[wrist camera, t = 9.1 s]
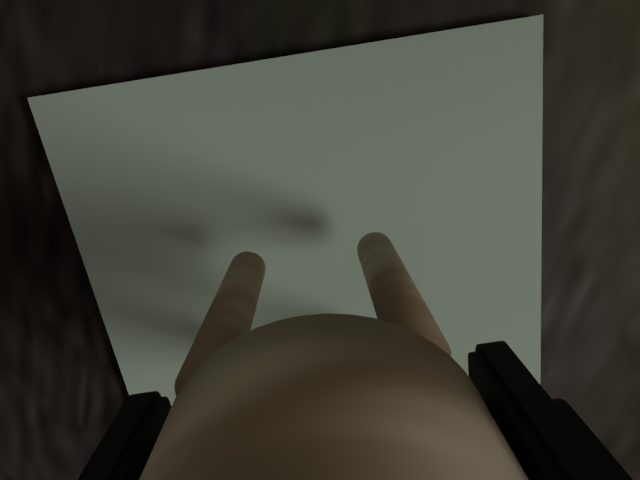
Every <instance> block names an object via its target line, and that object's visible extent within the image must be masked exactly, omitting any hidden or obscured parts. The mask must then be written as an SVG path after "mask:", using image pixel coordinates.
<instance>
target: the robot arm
mask: <svg viewBox="0 0 640 480" xmlns="http://www.w3.org/2000/svg"><path fill="white" fill-rule="evenodd" d="M468 373H469V378H470V379H471V381H472V382H473V384H474V385H475V387H476V388H477V390H478V392H479V393H480V395H481V397H482V399H483V400H484V402H485V404H486V406H487V407H488V409H489V411H490V413H491V414H492V416H493V418H494V420H495V421H496V423H497V425H498V427H499V428H500V430H501V432H502V434H503V435H504V437H505V439H506V441H507V442H508V444H509V446H510V448H511V449H512V451H513V453H514V455H515V456H516V458H517V460H518V462H519V463H520V465H521V467H522V469H523V470H524V472H525V474H526V476H527V477H528V479H529V480H633V479H632V478H631V477H630V476H629V475H628V474H627V472H626V471H625V470H624V469H623V468H622V466H621V465H620V464H619V463H618V462H617V461H616V459H615V458H614V457H613V456H612V455H611V453H610V452H609V451H608V450H607V449H606V448H605V446H604V445H603V444H602V443H601V442H600V440H599V439H598V438H597V437H596V436H595V435H594V433H593V432H592V431H591V430H590V429H589V427H588V426H587V425H586V424H585V423H584V422H583V420H582V419H581V418H580V417H579V416H578V414H577V413H576V412H575V411H574V410H573V409H572V407H571V406H570V405H569V404H568V403H567V402H566V401H565V400H562V399H560V398H558V399H551V398H550V396H549V395H548V394H547V393H546V391H545V390H544V389H543V388H542V386H541V385H540V384H539V383H538V381H537V380H536V379H535V378H534V377H533V375H532V374H531V373H530V372H529V370H528V369H527V368H526V367H525V365H524V364H523V363H522V362H521V360H520V359H519V358H518V357H517V355H516V354H515V353H514V352H513V350H512V349H511V348H510V347H509V345H508V344H507V343H506V342H505V341H496V342H489V343H482V344H477V345H476V348H475V352H469V353H468ZM170 409H171V404H170V401H169V399H168V397H166V396H164V397H161V394H160V393H159V392H158V391H151V392H144V393H138V394H131V395H129V396H128V397H127V399H126V400H125V402H124V404H123V405H122V407H121V409H120V410H119V412H118V414H117V415H116V417H115V418H114V420H113V422H112V423H111V425H110V427H109V428H108V430H107V432H106V433H105V435H104V437H103V438H102V440H101V442H100V443H99V445H98V447H97V448H96V450H95V452H94V453H93V455H92V457H91V458H90V460H89V462H88V463H87V465H86V467H85V468H84V470H83V472H82V473H81V475H80V477H79V478H78V480H139V479H140V477H141V475H142V472H143V470H144V468H145V466H146V463H147V461H148V459H149V457H150V454H151V452H152V450H153V448H154V445H155V443H156V441H157V439H158V436H159V434H160V432H161V430H162V427H163V425H164V423H165V421H166V418H167V416H168V414H169V412H170Z"/></svg>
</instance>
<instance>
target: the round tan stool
mask: <svg viewBox="0 0 640 480" xmlns="http://www.w3.org/2000/svg"><path fill="white" fill-rule="evenodd" d="M357 254H358V257H359V260H360V264H361V267H362V270H363V273H364V277H365V280H366V283H367V286H368V290H369V293H370V296H371V300H372V303H373V306H374V309H375V313H376V316H377V319H376V318H372V317H365V316H358V315H352V314H328V313H325V314H313V315H302V316H297V317H292V318H287V319H282V320H278V321H275V322H272V323H269V324H266V325H263V326H260V327H257V328H255V329H252V330H251V326H252V322H253V318H254V314H255V310H256V307H257V303H258V299H259V295H260V291H261V287H262V283H263V279H264V275H265V270H266V267H265V263H264V261H263V259H262V258H261V257H260V256H259V255H258V254H256V253H253V252H241V253H239V254H237V255H236V256H235V257H234V258H233V259H232V261H231V264H230V266H229V268H228V270H227V272H226V274H225V276H224V278H223V280H222V283H221V285H220V287H219V289H218V291H217V293H216V295H215V297H214V299H213V302H212V304H211V306H210V308H209V310H208V312H207V314H206V316H205V318H204V321H203V323H202V325H201V327H200V329H199V331H198V333H197V335H196V338H195V340H194V342H193V344H192V346H191V348H190V350H189V352H188V354H187V357H186V359H185V361H184V363H183V365H182V367H181V369H180V371H179V373H178V376H177V378H176V380H175V385H174V389H175V394H176V398H175V400H174V403H173V405H172V407H171V409H170V412H169V414H168V416H167V418H166V421H165V423H164V425H163V427H162V430H161V432H160V434H159V436H158V439H157V441H156V443H155V445H154V448H153V450H152V452H151V454H150V457H149V459H148V461H147V463H146V466H145V468H144V470H143V472H142V475H141V477H140V479H139V480H529V479H528V477H527V476H526V474H525V472H524V470H523V469H522V467H521V465H520V463H519V462H518V460H517V458H516V456H515V455H514V453H513V451H512V449H511V448H510V446H509V444H508V442H507V441H506V439H505V437H504V435H503V434H502V432H501V430H500V428H499V427H498V425H497V423H496V421H495V420H494V418H493V416H492V414H491V413H490V411H489V409H488V407H487V406H486V404H485V402H484V400H483V399H482V397H481V395H480V393H479V392H478V390H477V388H476V387H475V385H474V384H473V382H472V381H471V379H470V378H469V376H468V375H467V374H466V372H465V371H464V370H463V369H462V368H461V366H460V365H459V364H458V363H457V362H456V361H455V360H454V359H453V358H452V357H451V349H450V346H449V344H448V342H447V341H446V339H445V337H444V335H443V334H442V332H441V330H440V328H439V326H438V325H437V323H436V321H435V319H434V318H433V316H432V314H431V312H430V310H429V309H428V307H427V305H426V303H425V302H424V300H423V298H422V296H421V294H420V293H419V291H418V289H417V287H416V285H415V284H414V282H413V280H412V278H411V277H410V275H409V273H408V271H407V269H406V268H405V266H404V264H403V262H402V261H401V259H400V257H399V255H398V253H397V252H396V250H395V248H394V246H393V245H392V243H391V241H390V239H389V238H388V237H387V236H386V235H384V234H382V233H379V232H372V233H369V234H366V235H365V236H363V237H362V238H361V239H360V241H359V243H358V246H357Z"/></svg>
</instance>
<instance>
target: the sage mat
mask: <svg viewBox="0 0 640 480" xmlns="http://www.w3.org/2000/svg"><path fill="white" fill-rule="evenodd" d="M27 99H28V102H29V105H30V108H31V111H32V114H33V117H34V120H35V123H36V126H37V128H38V131H39V134H40V137H41V140H42V143H43V146H44V149H45V152H46V155H47V158H48V161H49V163H50V166H51V169H52V172H53V175H54V178H55V181H56V184H57V187H58V190H59V193H60V196H61V198H62V201H63V204H64V207H65V210H66V213H67V216H68V219H69V222H70V225H71V228H72V231H73V233H74V236H75V239H76V242H77V245H78V248H79V251H80V254H81V257H82V260H83V263H84V266H85V268H86V271H87V274H88V277H89V280H90V283H91V286H92V289H93V292H94V295H95V298H96V301H97V303H98V306H99V309H100V312H101V315H102V318H103V321H104V324H105V327H106V330H107V333H108V336H109V338H110V341H111V344H112V347H113V350H114V353H115V356H116V359H117V362H118V365H119V368H120V371H121V373H122V376H123V379H124V382H125V385H126V388H127V391H128V394H129V395H131V394H138V393H144V392H151V391H158V392H159V393H160V394H161V397H164V396H166V397H168V399H169V401H170V404H171V407H172V405H173V403H174V400H175V398H176V394H175V389H174V385H175V380H176V378H177V376H178V373H179V371H180V369H181V367H182V365H183V363H184V361H185V359H186V357H187V354H188V352H189V350H190V348H191V346H192V344H193V342H194V340H195V338H196V335H197V333H198V331H199V329H200V327H201V325H202V323H203V321H204V318H205V316H206V314H207V312H208V310H209V308H210V306H211V304H212V302H213V299H214V297H215V295H216V293H217V291H218V289H219V287H220V285H221V283H222V280H223V278H224V276H225V274H226V272H227V270H228V268H229V266H230V264H231V261H232V259H233V258H234V257H235V256H236V255H237V254H239V253H241V252H253V253H256V254H258V255H259V256H260V257H261V258H262V259H263V261H264V263H265V267H266V270H265V275H264V279H263V283H262V287H261V291H260V295H259V299H258V303H257V307H256V310H255V314H254V318H253V322H252V326H251V330H252V329H255V328H257V327H260V326H263V325H266V324H269V323H272V322H275V321H278V320H282V319H287V318H292V317H297V316H302V315H313V314H325V313H328V314H352V315H358V316H365V317H372V318H376V319H377V316H376V313H375V309H374V306H373V303H372V300H371V296H370V293H369V290H368V286H367V283H366V280H365V277H364V273H363V270H362V267H361V264H360V260H359V257H358V254H357V246H358V243H359V241H360V239H361V238H362V237H363V236H365V235H366V234H369V233H372V232H379V233H382V234H384V235H386V236H387V237H388V238H389V239H390V241H391V243H392V245H393V246H394V248H395V250H396V252H397V253H398V255H399V257H400V259H401V261H402V262H403V264H404V266H405V268H406V269H407V271H408V273H409V275H410V277H411V278H412V280H413V282H414V284H415V285H416V287H417V289H418V291H419V293H420V294H421V296H422V298H423V300H424V302H425V303H426V305H427V307H428V309H429V310H430V312H431V314H432V316H433V318H434V319H435V321H436V323H437V325H438V326H439V328H440V330H441V332H442V334H443V335H444V337H445V339H446V341H447V342H448V344H449V346H450V349H451V357H452V358H453V359H454V360H455V361H456V362H457V363H458V364H459V365H460V366H461V368H462V369H463V370H464V371H465V372H466V374H467V375H468V376H469V373H468V353H469V352H475V348H476V345H477V344H482V343H489V342H496V341H505V342H506V343H507V344H508V345H509V347H510V348H511V349H512V350H513V352H514V353H515V354H516V355H517V357H518V358H519V359H520V360H521V362H522V363H523V364H524V365H525V367H526V368H527V369H528V370H529V372H530V373H531V374H532V375H533V377H534V378H535V379H536V380H537V381H538V383H539V384H540V364H541V236H542V108H543V15H537V16H531V17H525V18H518V19H512V20H506V21H500V22H494V23H487V24H481V25H475V26H469V27H463V28H457V29H450V30H444V31H438V32H432V33H426V34H419V35H413V36H407V37H401V38H395V39H388V40H382V41H376V42H370V43H364V44H357V45H351V46H345V47H339V48H333V49H326V50H320V51H314V52H308V53H302V54H295V55H289V56H283V57H277V58H271V59H265V60H258V61H252V62H246V63H240V64H234V65H227V66H221V67H215V68H209V69H203V70H196V71H190V72H184V73H178V74H172V75H165V76H159V77H153V78H147V79H141V80H134V81H128V82H122V83H116V84H110V85H103V86H97V87H91V88H85V89H79V90H73V91H66V92H60V93H54V94H48V95H42V96H35V97H29V98H27Z"/></svg>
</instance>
